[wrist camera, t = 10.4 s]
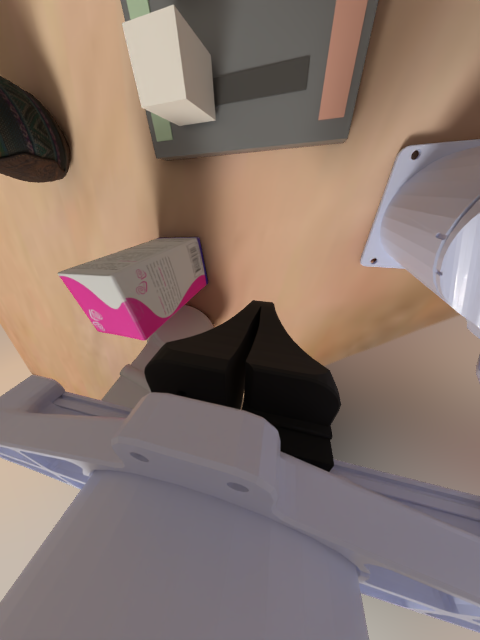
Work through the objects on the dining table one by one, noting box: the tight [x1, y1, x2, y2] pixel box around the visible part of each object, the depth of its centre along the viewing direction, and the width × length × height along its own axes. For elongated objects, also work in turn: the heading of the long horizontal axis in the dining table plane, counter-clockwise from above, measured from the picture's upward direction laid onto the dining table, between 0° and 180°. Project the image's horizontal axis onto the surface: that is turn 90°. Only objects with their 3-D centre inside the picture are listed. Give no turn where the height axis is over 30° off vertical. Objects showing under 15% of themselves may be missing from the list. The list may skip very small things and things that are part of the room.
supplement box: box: [58, 237, 208, 340], centre depth 18 cm, size 6×6×12 cm
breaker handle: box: [122, 4, 216, 126], centre depth 11 cm, size 3×3×4 cm
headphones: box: [101, 305, 214, 409], centre depth 25 cm, size 20×8×19 cm, turn 153°
